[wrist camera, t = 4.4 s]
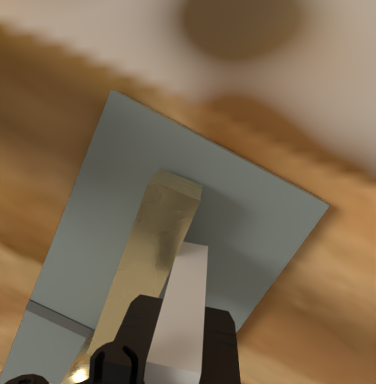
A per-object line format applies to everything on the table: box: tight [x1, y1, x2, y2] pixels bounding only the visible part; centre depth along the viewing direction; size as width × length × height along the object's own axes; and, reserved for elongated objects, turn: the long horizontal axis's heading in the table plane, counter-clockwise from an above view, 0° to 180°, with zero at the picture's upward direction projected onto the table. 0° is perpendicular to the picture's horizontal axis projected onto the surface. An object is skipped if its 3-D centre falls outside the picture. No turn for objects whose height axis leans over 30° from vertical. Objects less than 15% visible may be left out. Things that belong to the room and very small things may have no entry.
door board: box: [0, 90, 330, 384], centre depth 17 cm, size 12×28×1 cm, turn 153°
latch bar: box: [61, 168, 203, 384], centre depth 13 cm, size 4×14×4 cm, turn 159°
